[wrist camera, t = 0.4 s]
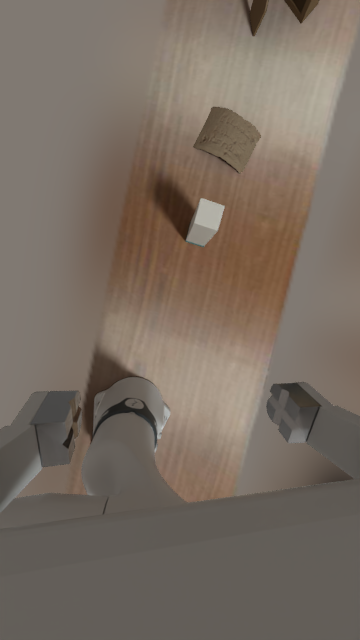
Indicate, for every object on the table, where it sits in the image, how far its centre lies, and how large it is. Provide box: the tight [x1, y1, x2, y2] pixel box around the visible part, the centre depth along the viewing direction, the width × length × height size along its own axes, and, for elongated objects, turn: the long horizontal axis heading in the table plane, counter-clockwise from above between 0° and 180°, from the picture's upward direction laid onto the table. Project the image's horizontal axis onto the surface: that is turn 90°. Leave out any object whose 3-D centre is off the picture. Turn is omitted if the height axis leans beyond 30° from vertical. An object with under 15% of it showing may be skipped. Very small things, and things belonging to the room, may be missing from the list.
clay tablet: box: [193, 107, 261, 174], centre depth 50 cm, size 15×10×3 cm
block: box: [186, 198, 225, 247], centre depth 46 cm, size 4×4×13 cm
